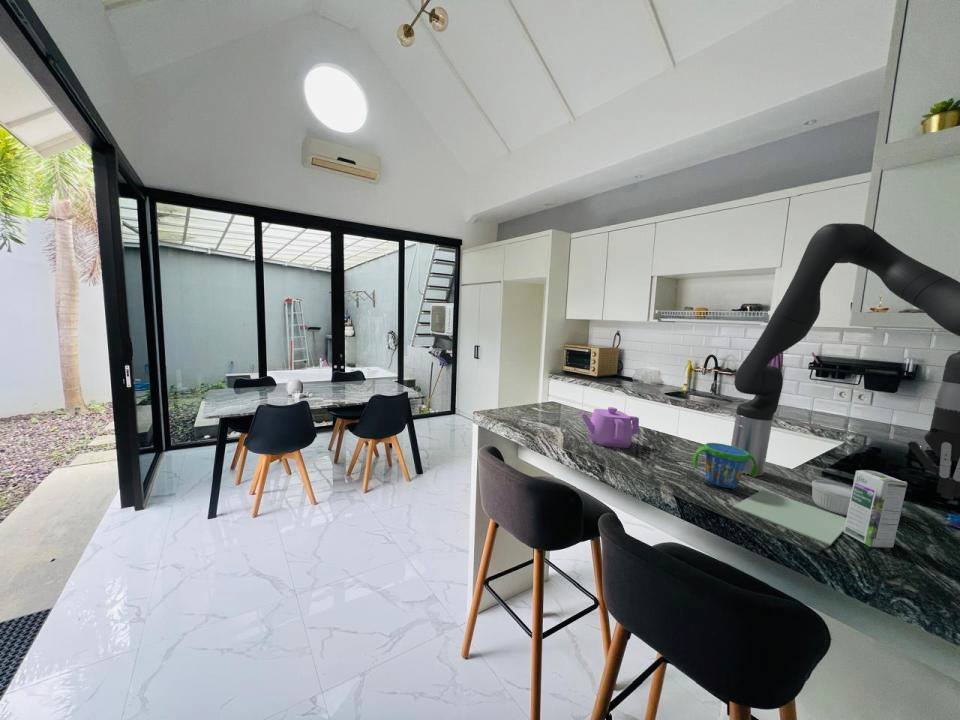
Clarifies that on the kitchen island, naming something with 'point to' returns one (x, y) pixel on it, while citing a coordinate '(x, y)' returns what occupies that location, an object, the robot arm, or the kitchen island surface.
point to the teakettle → (611, 427)
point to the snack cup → (724, 464)
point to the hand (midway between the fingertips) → (946, 497)
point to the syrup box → (875, 508)
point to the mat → (794, 516)
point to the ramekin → (831, 496)
